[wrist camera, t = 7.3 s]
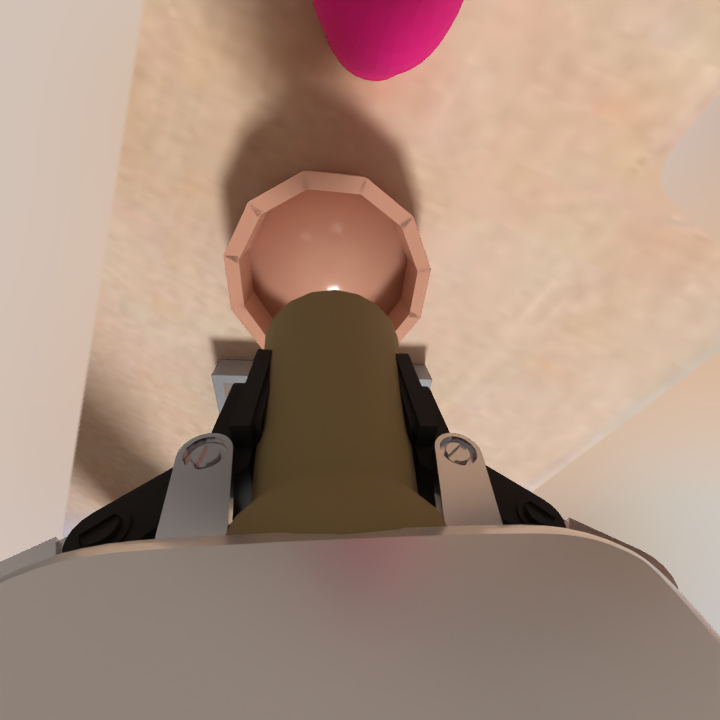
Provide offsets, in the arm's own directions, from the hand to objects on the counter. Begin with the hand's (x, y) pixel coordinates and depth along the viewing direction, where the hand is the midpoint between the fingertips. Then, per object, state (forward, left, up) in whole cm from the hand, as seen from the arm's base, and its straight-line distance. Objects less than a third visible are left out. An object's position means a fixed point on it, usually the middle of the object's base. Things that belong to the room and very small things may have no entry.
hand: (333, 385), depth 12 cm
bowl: (0, 0, -15) cm, 15 cm away
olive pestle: (0, 0, -3) cm, 2 cm away
